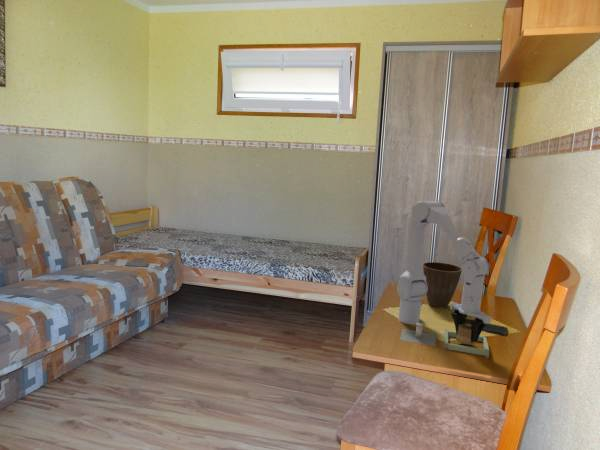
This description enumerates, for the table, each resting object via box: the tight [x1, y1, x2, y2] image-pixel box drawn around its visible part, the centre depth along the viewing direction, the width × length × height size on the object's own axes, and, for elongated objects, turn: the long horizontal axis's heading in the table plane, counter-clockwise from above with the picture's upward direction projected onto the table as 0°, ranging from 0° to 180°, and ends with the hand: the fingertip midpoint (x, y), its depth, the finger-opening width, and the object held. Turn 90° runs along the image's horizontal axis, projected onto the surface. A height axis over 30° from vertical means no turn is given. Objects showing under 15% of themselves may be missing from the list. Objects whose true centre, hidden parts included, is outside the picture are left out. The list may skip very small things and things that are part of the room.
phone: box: [465, 318, 509, 336], centre depth 175 cm, size 8×1×15 cm
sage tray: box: [444, 329, 490, 359], centre depth 155 cm, size 13×13×2 cm
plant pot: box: [422, 261, 463, 309], centre depth 197 cm, size 15×15×16 cm
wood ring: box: [456, 324, 476, 346], centre depth 154 cm, size 5×5×5 cm
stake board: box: [399, 322, 437, 347], centre depth 158 cm, size 11×11×5 cm
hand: (466, 337), depth 155 cm, fingers closed on wood ring, 5 cm apart
